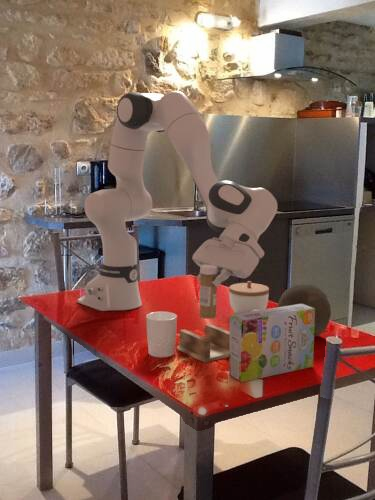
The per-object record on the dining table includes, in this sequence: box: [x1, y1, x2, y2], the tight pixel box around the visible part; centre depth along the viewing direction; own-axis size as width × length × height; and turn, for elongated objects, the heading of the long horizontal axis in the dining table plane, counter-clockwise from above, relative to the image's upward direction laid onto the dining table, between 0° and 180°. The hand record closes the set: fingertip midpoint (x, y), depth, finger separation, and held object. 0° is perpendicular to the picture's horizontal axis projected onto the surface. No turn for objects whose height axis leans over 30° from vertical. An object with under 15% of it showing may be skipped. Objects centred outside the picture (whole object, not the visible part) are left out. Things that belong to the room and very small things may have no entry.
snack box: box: [228, 304, 315, 383], centre depth 137 cm, size 21×6×15 cm, turn 118°
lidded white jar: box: [228, 280, 270, 314], centre depth 183 cm, size 13×13×11 cm
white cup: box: [145, 311, 178, 358], centre depth 149 cm, size 8×8×10 cm
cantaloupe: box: [277, 284, 332, 338], centre depth 162 cm, size 14×14×15 cm
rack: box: [176, 323, 230, 363], centre depth 151 cm, size 12×11×5 cm
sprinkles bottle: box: [198, 265, 219, 320], centre depth 148 cm, size 5×5×13 cm
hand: (206, 282), depth 148 cm, fingers closed on sprinkles bottle, 4 cm apart
